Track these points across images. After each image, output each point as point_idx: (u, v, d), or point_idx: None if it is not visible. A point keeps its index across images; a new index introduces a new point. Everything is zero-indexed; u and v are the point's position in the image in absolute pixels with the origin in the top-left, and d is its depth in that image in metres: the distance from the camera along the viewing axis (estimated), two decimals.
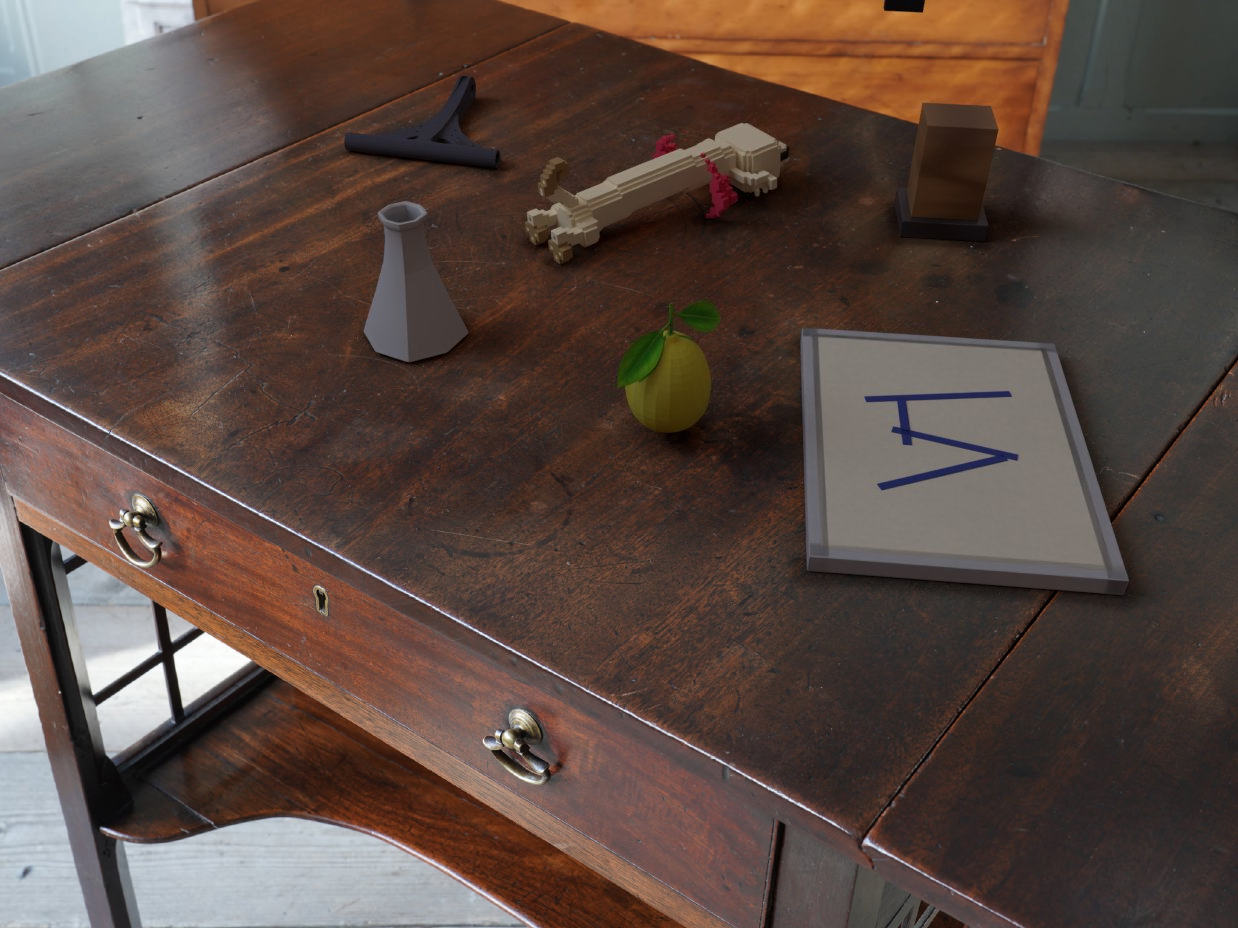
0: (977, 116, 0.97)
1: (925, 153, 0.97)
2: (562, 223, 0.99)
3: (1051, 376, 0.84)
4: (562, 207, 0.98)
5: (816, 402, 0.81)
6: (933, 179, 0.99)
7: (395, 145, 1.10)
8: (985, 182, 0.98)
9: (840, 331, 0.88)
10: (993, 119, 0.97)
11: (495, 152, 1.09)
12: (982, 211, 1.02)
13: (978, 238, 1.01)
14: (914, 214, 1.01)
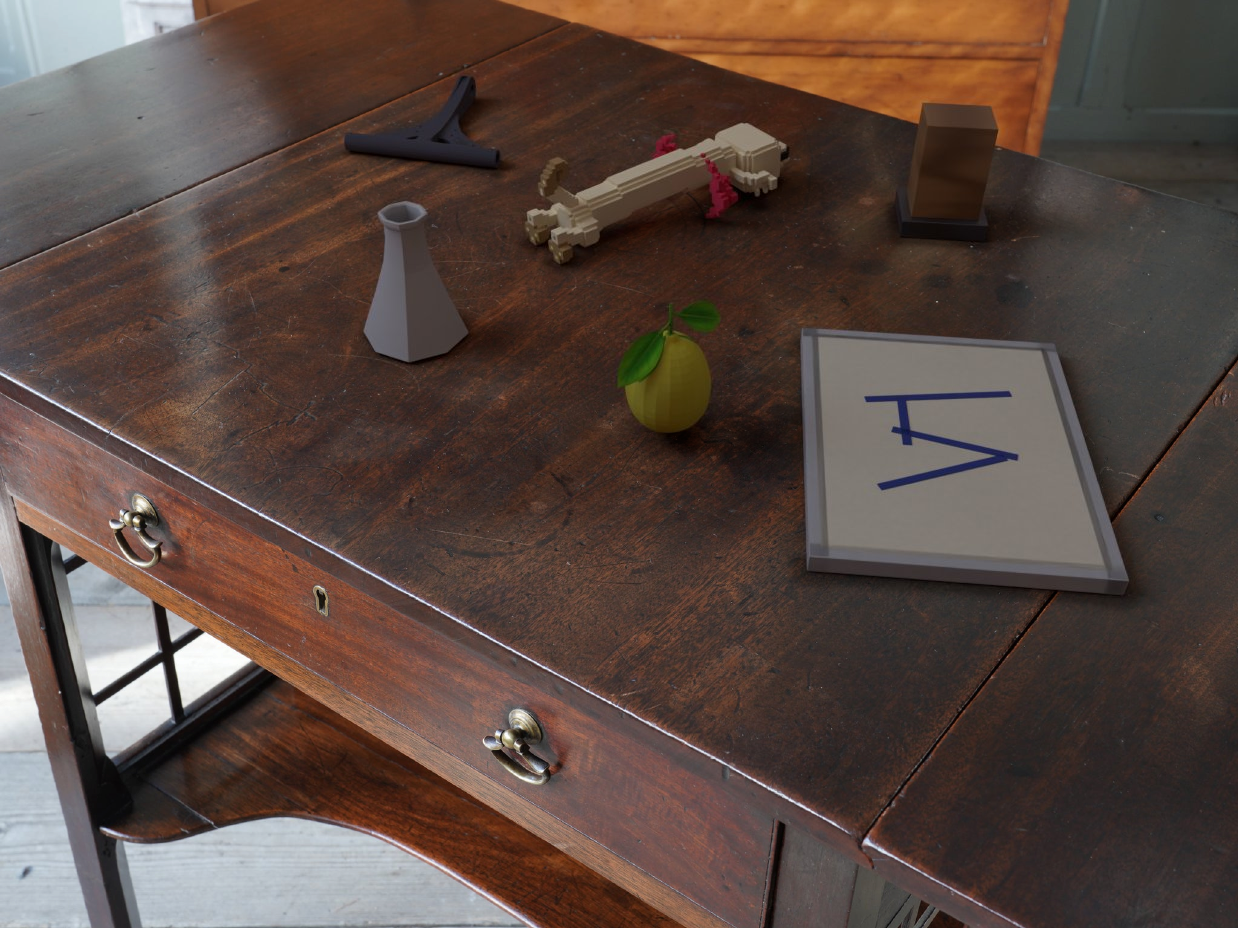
0: (977, 116, 0.97)
1: (925, 153, 0.97)
2: (562, 223, 0.99)
3: (1051, 376, 0.84)
4: (562, 207, 0.98)
5: (816, 402, 0.81)
6: (933, 179, 0.99)
7: (395, 145, 1.10)
8: (985, 182, 0.98)
9: (840, 331, 0.88)
10: (993, 119, 0.97)
11: (495, 152, 1.09)
12: (982, 211, 1.02)
13: (978, 238, 1.01)
14: (914, 214, 1.01)
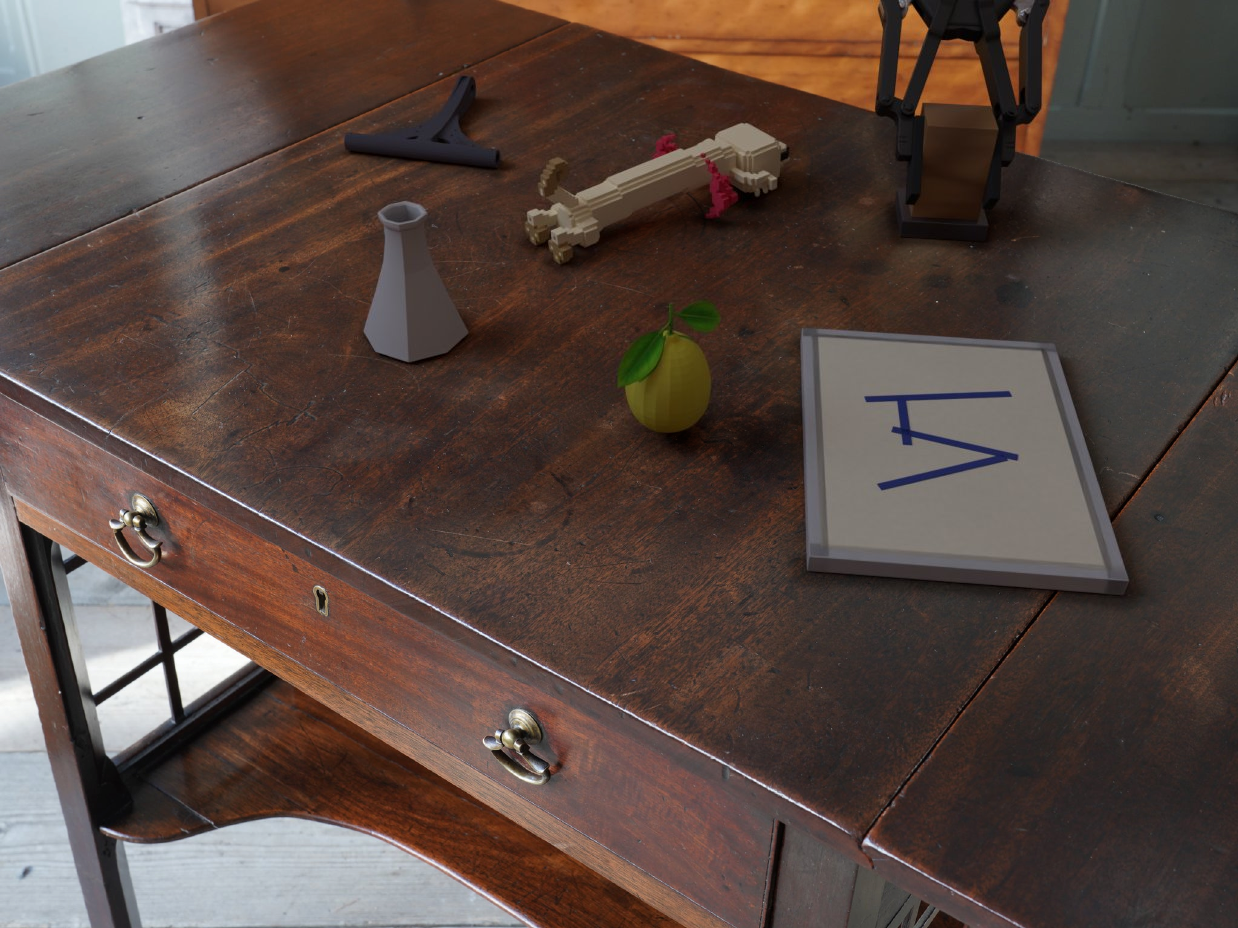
0: (977, 116, 0.97)
1: (925, 153, 0.97)
2: (562, 223, 0.99)
3: (1051, 376, 0.84)
4: (563, 207, 0.98)
5: (816, 402, 0.81)
6: (933, 179, 0.99)
7: (395, 145, 1.10)
8: (985, 182, 0.98)
9: (840, 331, 0.88)
10: (993, 119, 0.97)
11: (495, 152, 1.09)
12: (982, 211, 1.02)
13: (978, 238, 1.01)
14: (914, 214, 1.01)
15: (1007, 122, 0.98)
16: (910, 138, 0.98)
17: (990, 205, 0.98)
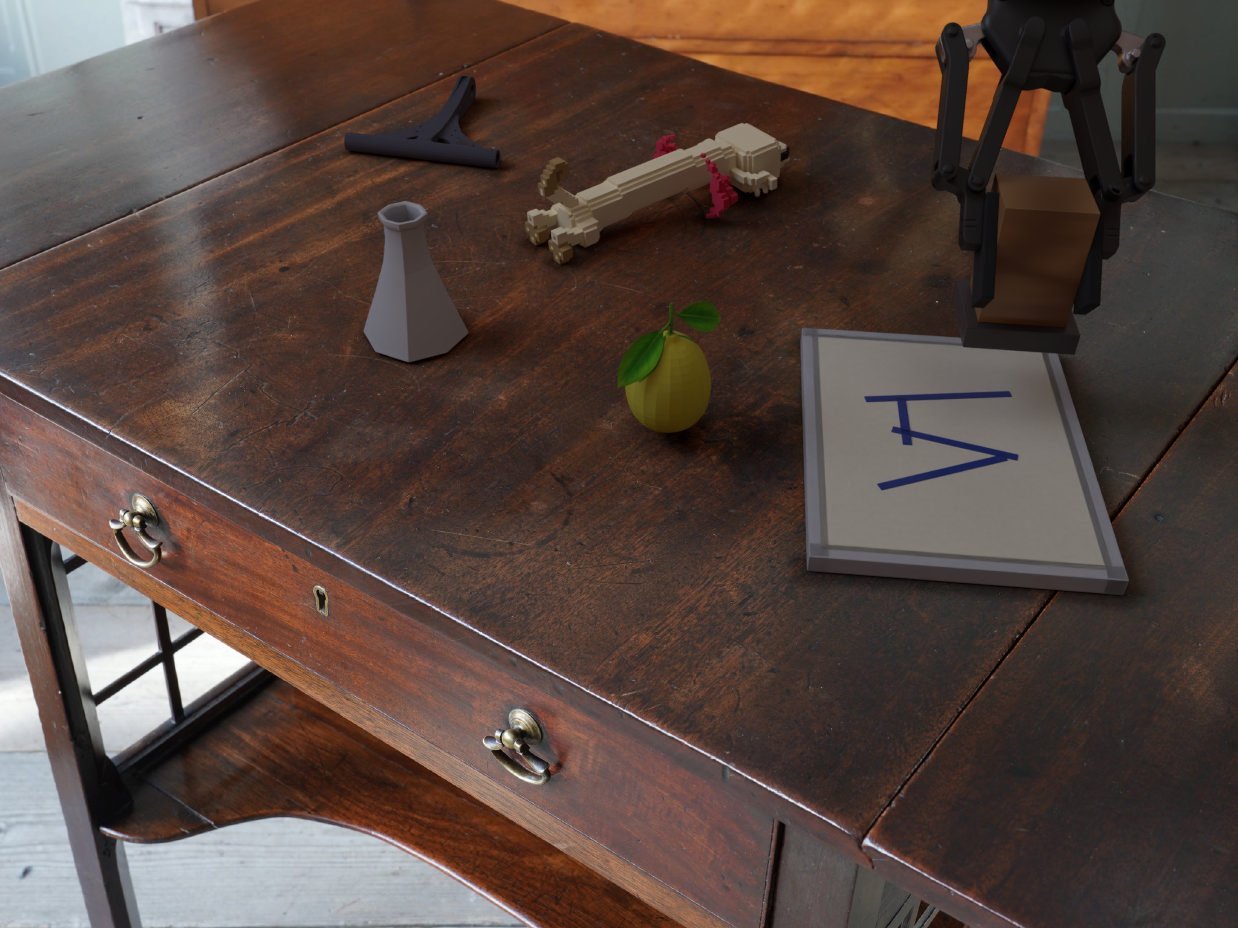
0: (1070, 193, 0.73)
1: (1000, 242, 0.73)
2: (562, 223, 0.99)
3: (1051, 376, 0.84)
4: (562, 207, 0.98)
5: (816, 402, 0.81)
6: (1010, 276, 0.75)
7: (395, 145, 1.10)
8: (1078, 280, 0.74)
9: (840, 331, 0.88)
10: (1091, 198, 0.73)
11: (495, 152, 1.09)
12: (1070, 314, 0.78)
13: (1066, 350, 0.77)
14: (982, 319, 0.77)
15: (1109, 201, 0.74)
16: (980, 222, 0.74)
17: (1085, 310, 0.74)
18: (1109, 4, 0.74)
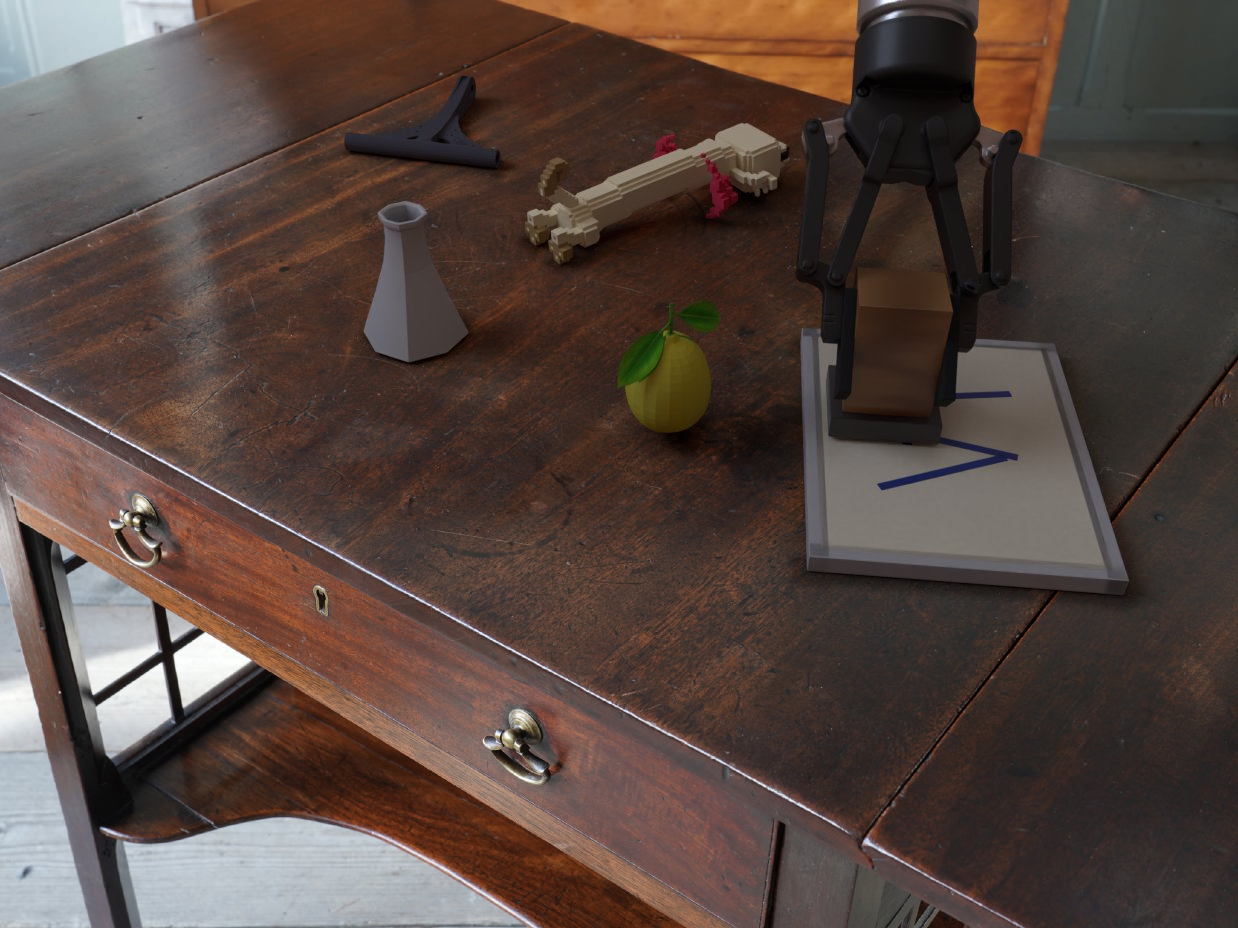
0: (926, 289, 0.74)
1: (857, 338, 0.74)
2: (562, 223, 0.99)
3: (1051, 376, 0.84)
4: (562, 207, 0.98)
5: (816, 402, 0.81)
6: (870, 369, 0.75)
7: (395, 145, 1.10)
8: (937, 374, 0.75)
9: None
10: (947, 295, 0.74)
11: (495, 152, 1.09)
12: None
13: (929, 440, 0.77)
14: (846, 409, 0.78)
15: (966, 297, 0.74)
16: (839, 316, 0.75)
17: (943, 404, 0.75)
18: (968, 100, 0.75)
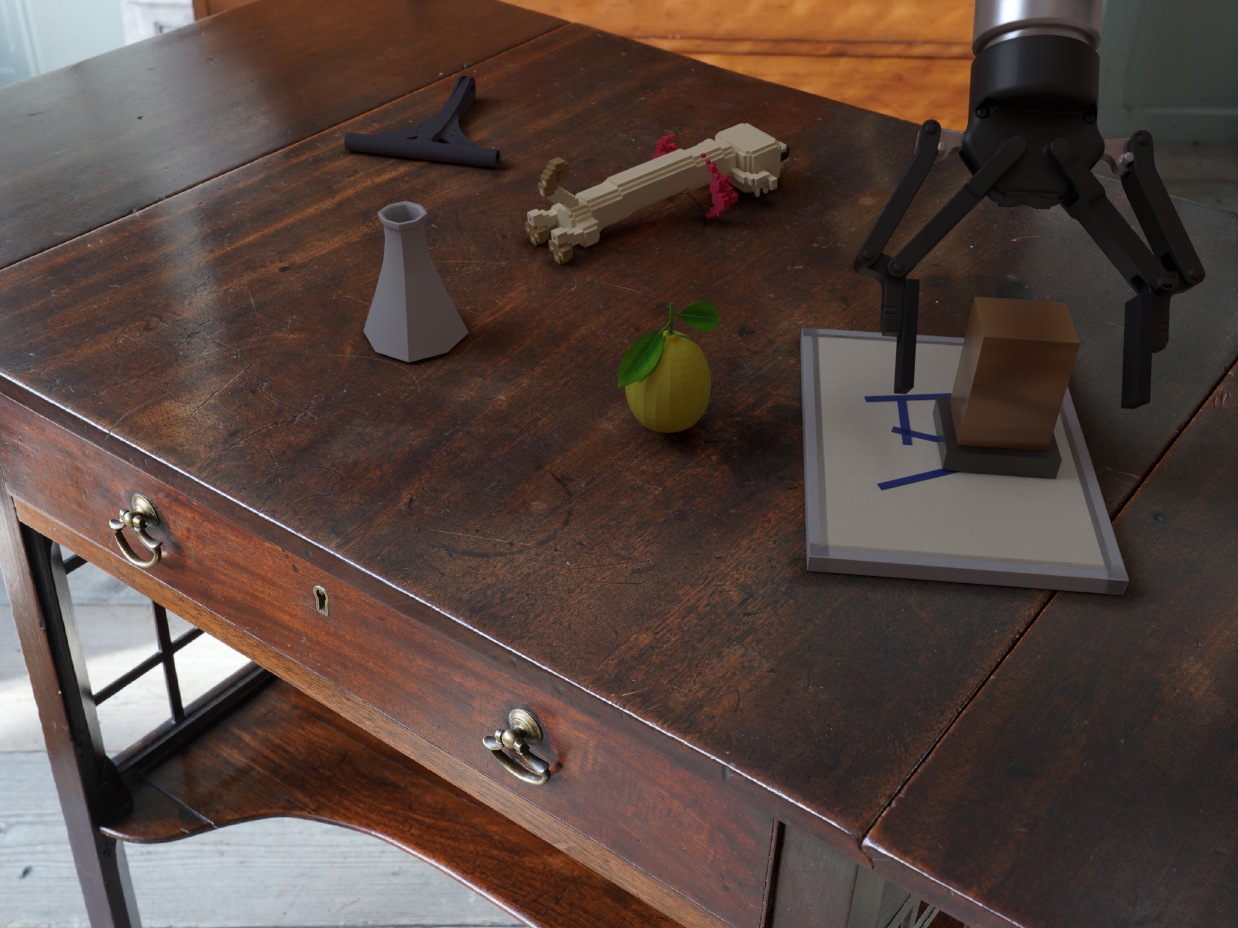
0: (1049, 319, 0.72)
1: (979, 369, 0.72)
2: (562, 223, 0.99)
3: None
4: (563, 207, 0.98)
5: (816, 402, 0.81)
6: (989, 401, 0.73)
7: (395, 145, 1.10)
8: (1059, 406, 0.73)
9: (840, 331, 0.88)
10: (1071, 325, 0.72)
11: (495, 152, 1.09)
12: (1051, 435, 0.76)
13: (1047, 474, 0.75)
14: (962, 442, 0.75)
15: (1162, 295, 0.72)
16: (900, 308, 0.73)
17: (1133, 406, 0.73)
18: (1092, 121, 0.73)
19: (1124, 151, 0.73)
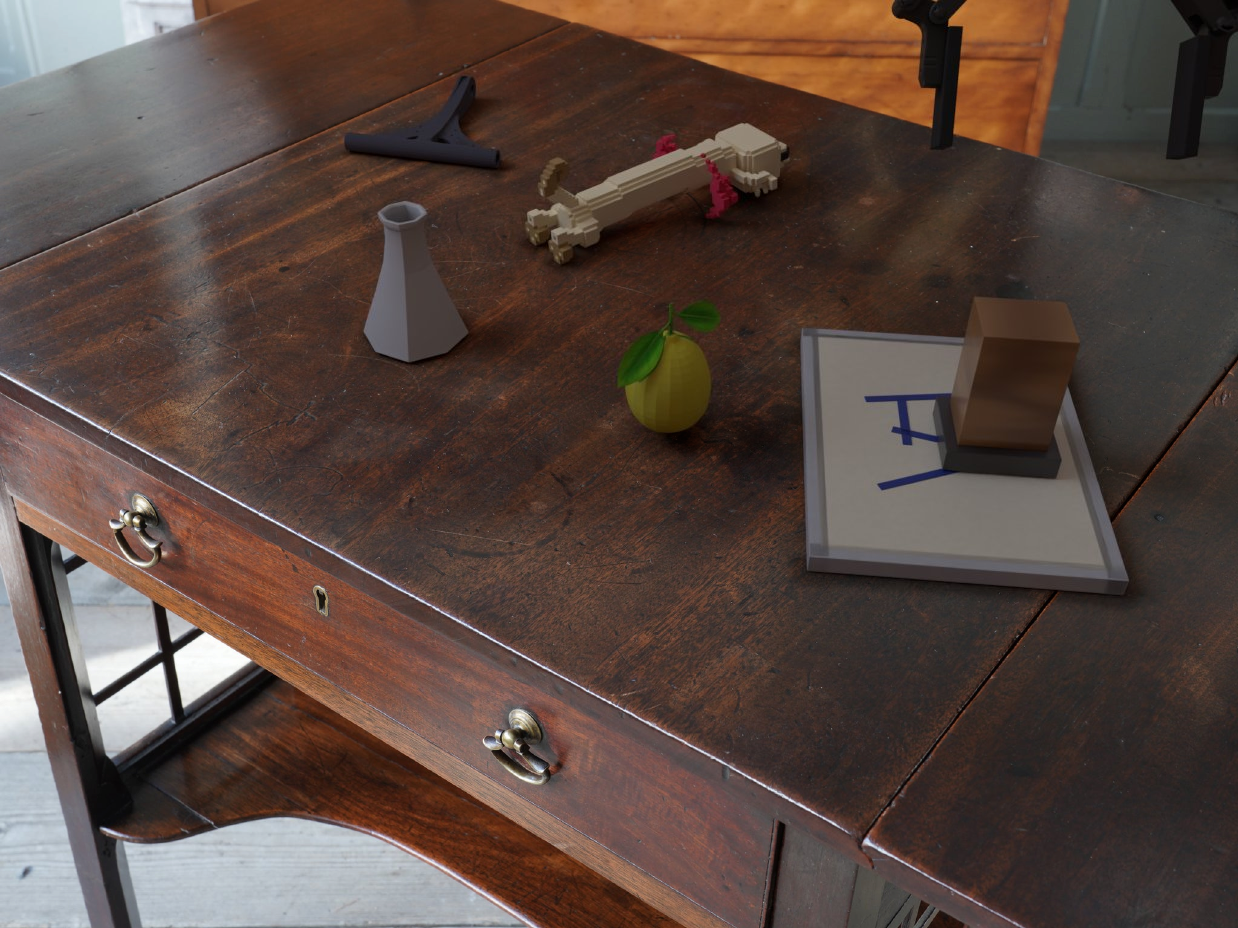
0: (1049, 319, 0.72)
1: (979, 369, 0.72)
2: (562, 223, 0.98)
3: None
4: (563, 207, 0.98)
5: (816, 402, 0.81)
6: (989, 401, 0.73)
7: (395, 145, 1.10)
8: (1059, 406, 0.73)
9: (840, 331, 0.88)
10: (1071, 325, 0.72)
11: (495, 152, 1.09)
12: (1051, 435, 0.76)
13: (1047, 474, 0.75)
14: (962, 442, 0.75)
15: (1221, 37, 0.68)
16: (940, 59, 0.69)
17: (1179, 158, 0.70)
18: None
19: None
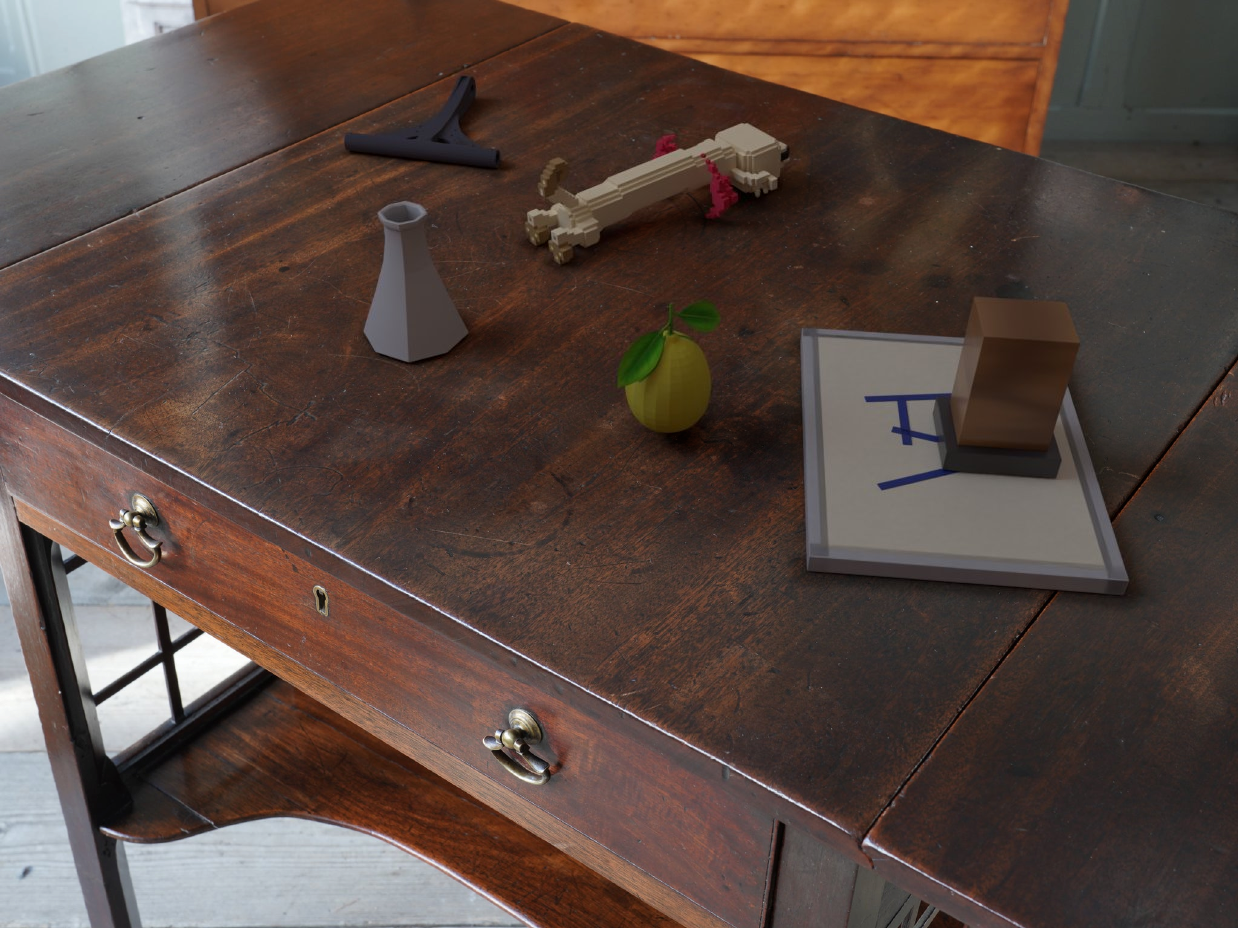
0: (1049, 319, 0.72)
1: (979, 369, 0.72)
2: (562, 223, 0.98)
3: None
4: (563, 207, 0.98)
5: (816, 402, 0.81)
6: (989, 401, 0.73)
7: (395, 145, 1.10)
8: (1059, 406, 0.73)
9: (840, 331, 0.88)
10: (1071, 325, 0.72)
11: (495, 152, 1.09)
12: (1051, 435, 0.76)
13: (1047, 474, 0.75)
14: (962, 442, 0.75)
15: None
16: None
17: None
18: None
19: None
